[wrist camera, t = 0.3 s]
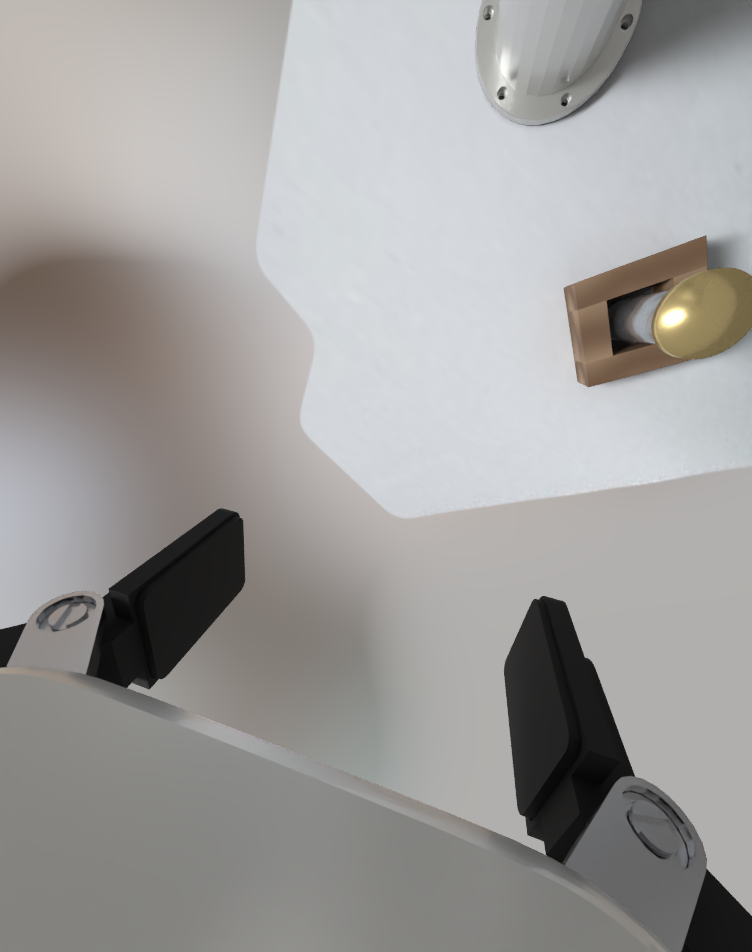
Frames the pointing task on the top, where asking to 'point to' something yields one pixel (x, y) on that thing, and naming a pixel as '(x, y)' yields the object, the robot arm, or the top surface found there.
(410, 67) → the top surface
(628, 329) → the steel pin
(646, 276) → the block
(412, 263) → the top surface
